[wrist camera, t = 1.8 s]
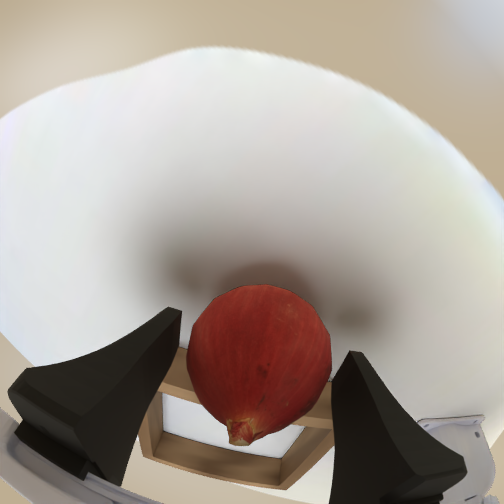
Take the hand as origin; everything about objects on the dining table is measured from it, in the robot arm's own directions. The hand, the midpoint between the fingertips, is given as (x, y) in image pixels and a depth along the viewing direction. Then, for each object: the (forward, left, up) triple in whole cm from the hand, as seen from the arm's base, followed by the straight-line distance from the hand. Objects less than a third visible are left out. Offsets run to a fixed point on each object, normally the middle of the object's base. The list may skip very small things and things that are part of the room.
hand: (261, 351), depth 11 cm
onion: (0, 0, -3) cm, 3 cm away
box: (0, +11, -3) cm, 11 cm away
